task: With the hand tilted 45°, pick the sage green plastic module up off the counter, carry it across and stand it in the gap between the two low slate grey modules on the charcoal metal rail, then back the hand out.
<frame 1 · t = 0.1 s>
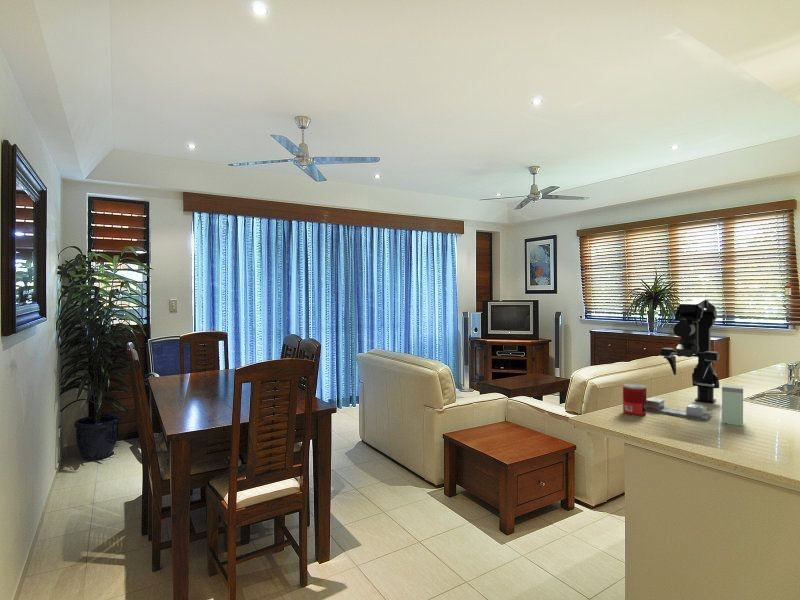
hand: (688, 376, 170), 15 cm above the worktop, tool pointing down, fingers open, 9 cm apart
rail: (674, 413, 172), on the worktop
canned food: (634, 414, 172), on the worktop
module: (732, 422, 159), on the worktop
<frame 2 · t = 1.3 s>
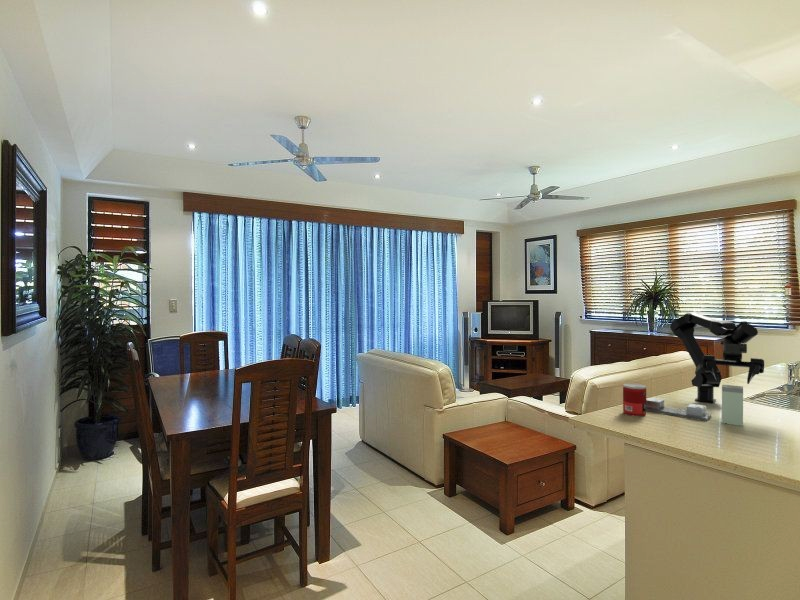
hand: (732, 381, 165), 13 cm above the worktop, tool tilted 45°, fingers open, 9 cm apart
nothing on the worktop moved.
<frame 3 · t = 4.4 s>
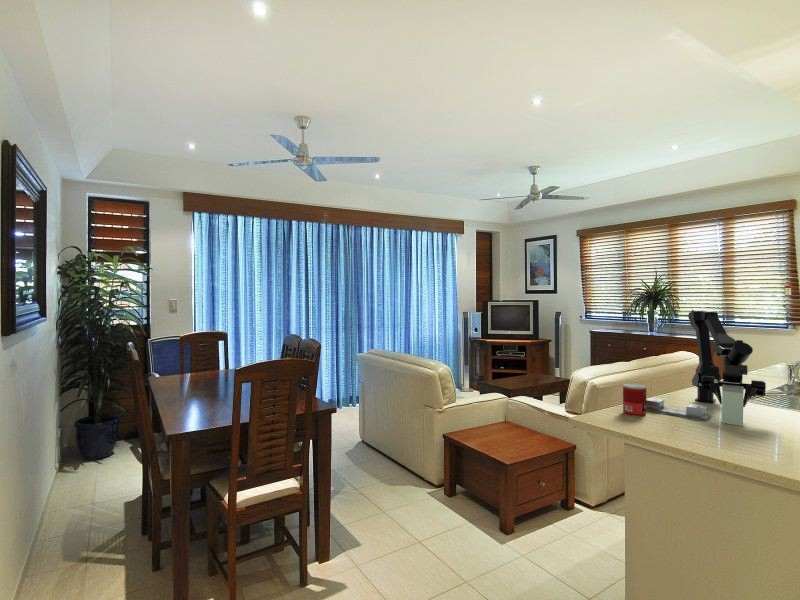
hand: (732, 405, 158), 7 cm above the worktop, tool tilted 45°, fingers closed on module, 6 cm apart
module: (732, 422, 159), on the worktop, touching gripper
everything else where it was.
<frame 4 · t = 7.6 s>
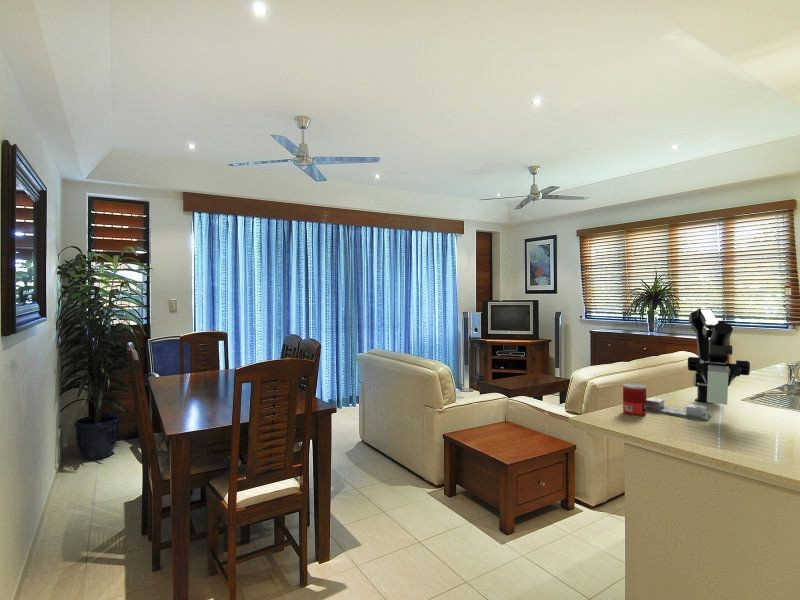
hand: (717, 384, 161), 13 cm above the worktop, tool tilted 45°, fingers closed on module, 6 cm apart
module: (717, 401, 162), point 7 cm above the worktop, touching gripper
everything else where it was.
when the fingers open (9 cm above the worktop, at t = 11.0 s): module drops 1 cm, resting on rail.
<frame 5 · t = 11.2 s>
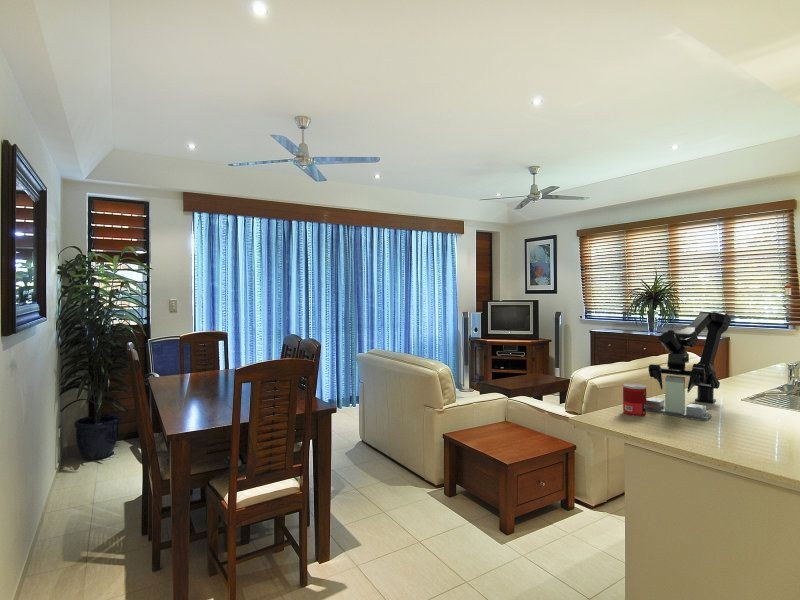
hand: (674, 390, 171), 9 cm above the worktop, tool tilted 45°, fingers open, 8 cm apart
module: (674, 410, 172), point 1 cm above the worktop, touching rail
everything else where it was.
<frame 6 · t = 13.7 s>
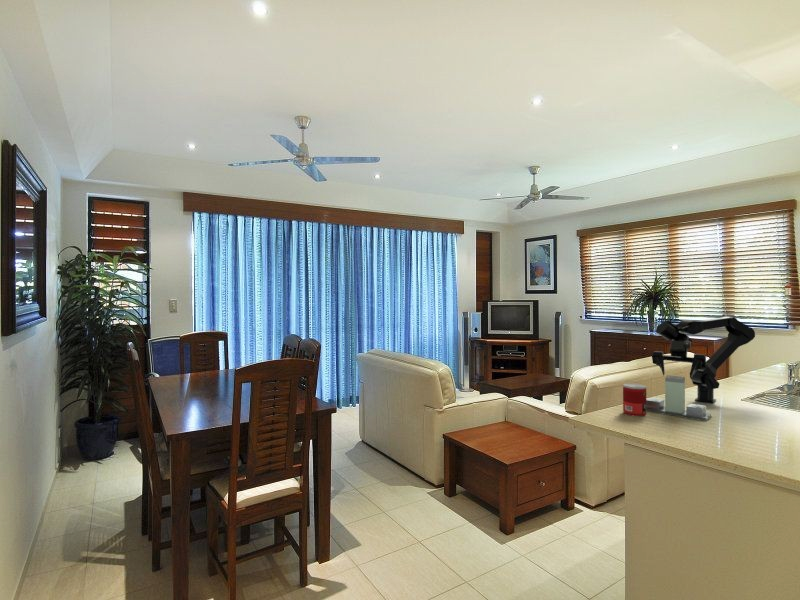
hand: (676, 376, 178), 13 cm above the worktop, tool tilted 45°, fingers open, 9 cm apart
nothing on the worktop moved.
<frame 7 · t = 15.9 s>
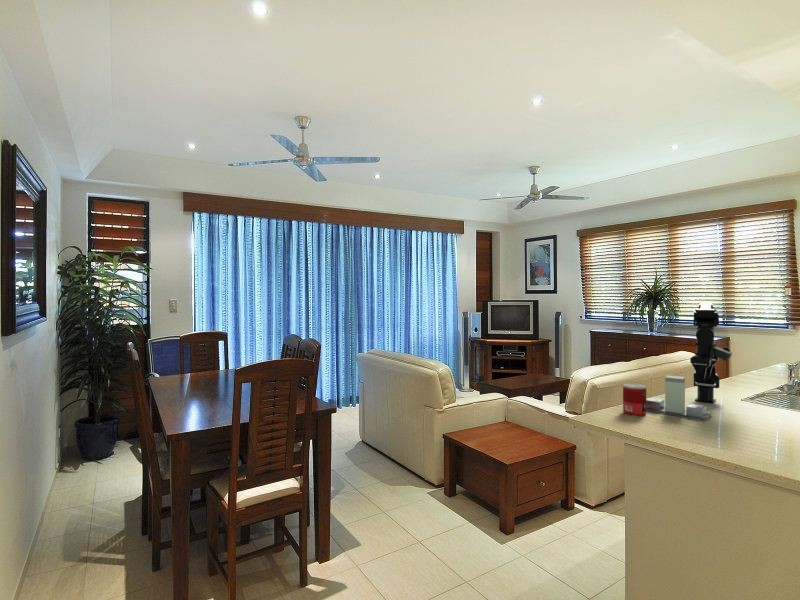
hand: (705, 379, 177), 12 cm above the worktop, tool pointing down, fingers open, 9 cm apart
nothing on the worktop moved.
at the end: module 0.0 cm off-centre on the rail, point 1.0 cm above the rail's base; module tilted 0°; the gripper is holding nothing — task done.
